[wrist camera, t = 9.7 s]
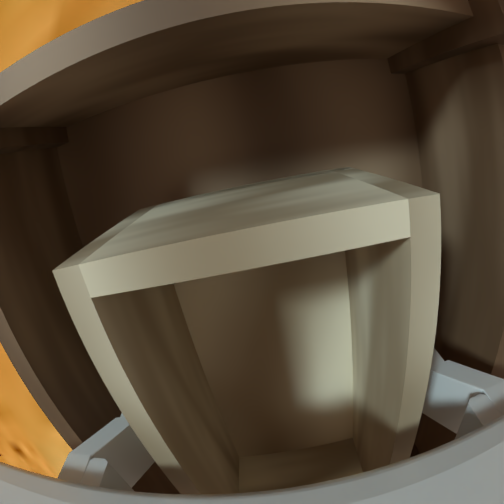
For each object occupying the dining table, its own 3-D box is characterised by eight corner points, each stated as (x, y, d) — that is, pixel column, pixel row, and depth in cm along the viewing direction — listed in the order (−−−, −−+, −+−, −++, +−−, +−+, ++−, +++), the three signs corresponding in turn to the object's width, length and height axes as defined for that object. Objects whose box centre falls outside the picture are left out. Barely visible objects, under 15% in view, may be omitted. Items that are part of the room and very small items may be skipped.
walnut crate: (404, 44, 9) (524, -11, 3) (411, 427, 16) (450, 512, 9) (46, 121, 10) (-88, 127, 4) (185, 466, 17) (171, 558, 10)
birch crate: (348, 166, 9) (440, 193, 4) (361, 432, 13) (388, 516, 8) (139, 209, 9) (52, 270, 5) (230, 455, 13) (226, 542, 8)
